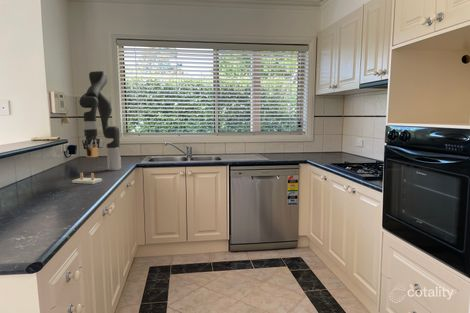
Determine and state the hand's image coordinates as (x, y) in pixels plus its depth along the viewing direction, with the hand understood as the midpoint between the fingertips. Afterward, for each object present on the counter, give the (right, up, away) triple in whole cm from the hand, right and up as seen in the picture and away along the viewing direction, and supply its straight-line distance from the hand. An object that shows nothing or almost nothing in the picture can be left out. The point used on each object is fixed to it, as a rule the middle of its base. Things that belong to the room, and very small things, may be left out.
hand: (92, 155), depth 204 cm
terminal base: (-3, -17, -1) cm, 17 cm away
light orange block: (0, -1, 0) cm, 1 cm away
